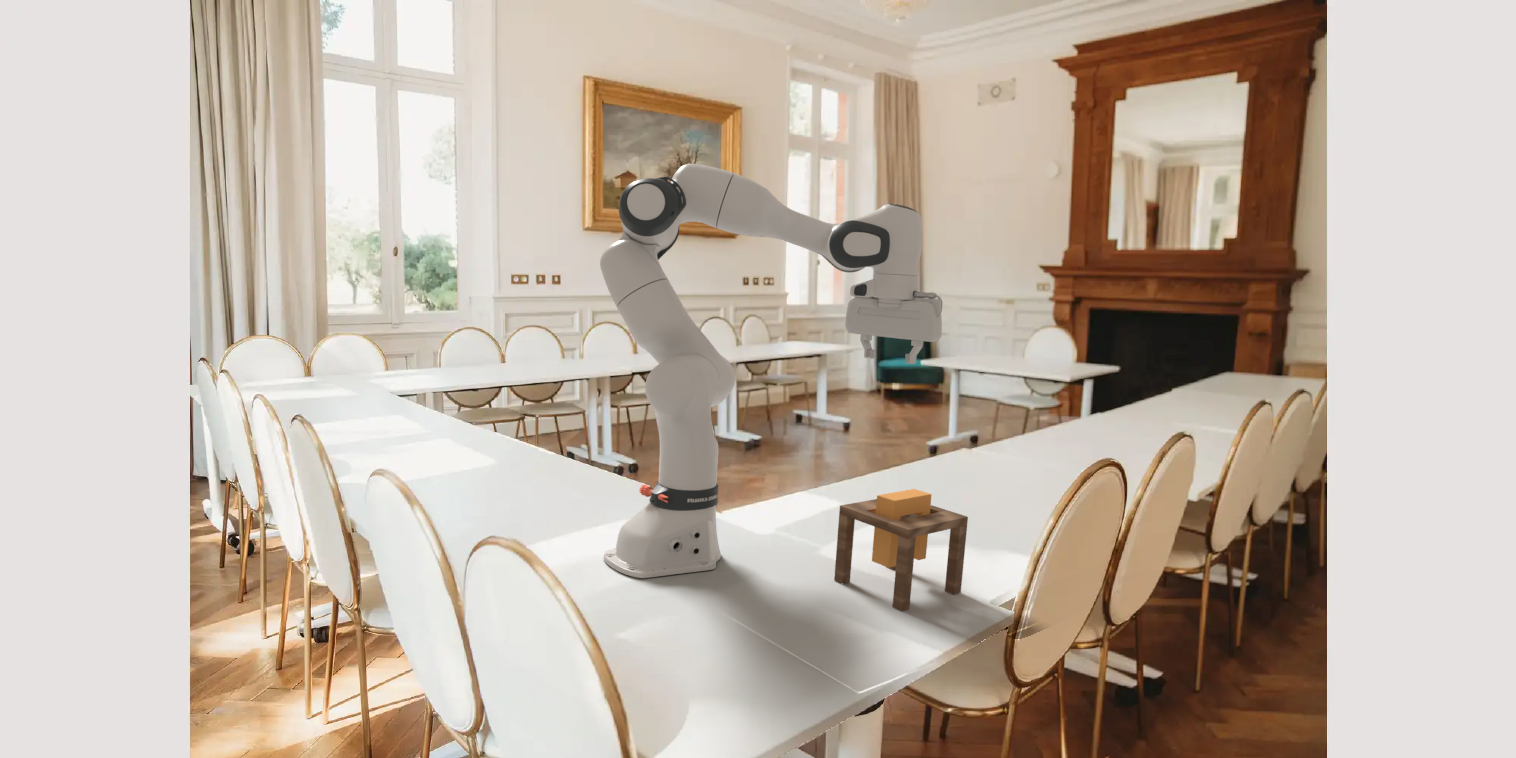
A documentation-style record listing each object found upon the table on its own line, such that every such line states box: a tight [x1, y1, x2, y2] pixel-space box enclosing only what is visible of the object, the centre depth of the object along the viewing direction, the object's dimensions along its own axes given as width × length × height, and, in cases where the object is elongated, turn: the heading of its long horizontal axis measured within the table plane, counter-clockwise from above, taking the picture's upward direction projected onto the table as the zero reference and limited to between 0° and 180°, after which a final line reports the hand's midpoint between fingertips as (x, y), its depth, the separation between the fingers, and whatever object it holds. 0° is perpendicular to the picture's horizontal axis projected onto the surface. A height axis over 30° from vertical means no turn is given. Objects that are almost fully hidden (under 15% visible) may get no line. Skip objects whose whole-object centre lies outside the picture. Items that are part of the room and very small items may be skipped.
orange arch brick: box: [871, 488, 932, 569], centre depth 147 cm, size 10×4×12 cm, turn 129°
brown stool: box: [833, 498, 969, 612], centre depth 147 cm, size 16×16×14 cm
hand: (889, 360), depth 161 cm, fingers open, 8 cm apart
